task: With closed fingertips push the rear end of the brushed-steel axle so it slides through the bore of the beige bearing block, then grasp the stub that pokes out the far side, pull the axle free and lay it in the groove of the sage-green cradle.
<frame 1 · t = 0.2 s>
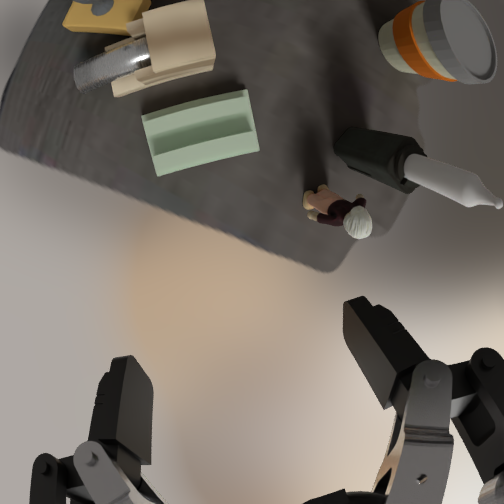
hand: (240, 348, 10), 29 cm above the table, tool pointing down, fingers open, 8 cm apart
grandmother figurine: (319, 195, 39), on the table
beige bearing block: (174, 53, 27), on the table
rubber stamp: (110, 15, 22), on the table
axle: (136, 56, 23), point 4 cm above the table, touching beige bearing block
cradle: (200, 131, 32), on the table
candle: (352, 148, 36), on the table
reusable coffee cup: (400, 46, 30), on the table
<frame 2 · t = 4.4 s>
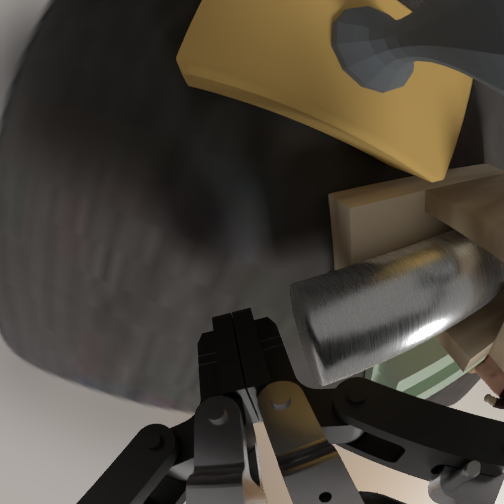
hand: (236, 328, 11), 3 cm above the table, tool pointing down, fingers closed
grandmother figurine: (481, 356, 26), on the table
beige bearing block: (446, 225, 14), on the table
rubber stamp: (321, 64, 9), on the table
axle: (448, 278, 10), point 4 cm above the table, touching beige bearing block, gripper
cradle: (430, 341, 19), on the table
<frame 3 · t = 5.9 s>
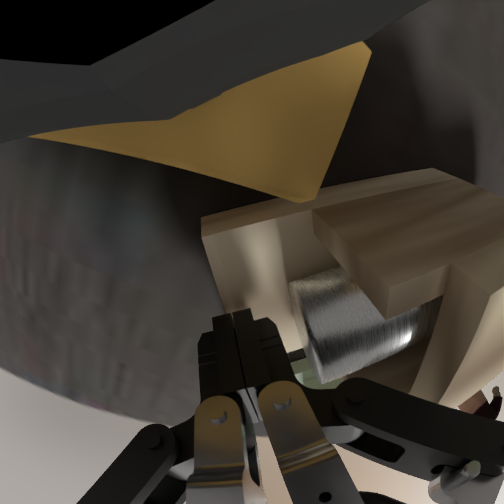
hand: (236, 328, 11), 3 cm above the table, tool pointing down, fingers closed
grandmother figurine: (453, 374, 26), on the table
beige bearing block: (375, 243, 14), on the table
rubber stamp: (187, 78, 9), on the table
axle: (447, 275, 10), point 4 cm above the table, touching beige bearing block, gripper
cradle: (374, 365, 19), on the table
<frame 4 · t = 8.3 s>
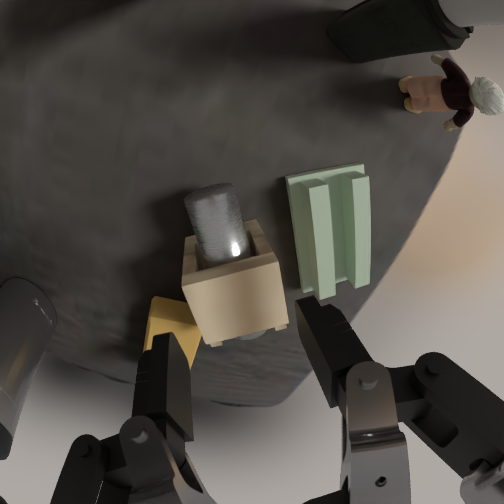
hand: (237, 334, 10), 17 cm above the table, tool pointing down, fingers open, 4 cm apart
grandmother figurine: (408, 90, 23), on the table
beige bearing block: (229, 263, 29), on the table
rubber stamp: (170, 331, 32), on the table
axle: (231, 268, 25), point 4 cm above the table, touching beige bearing block
cradle: (329, 228, 29), on the table
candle: (354, 36, 20), on the table
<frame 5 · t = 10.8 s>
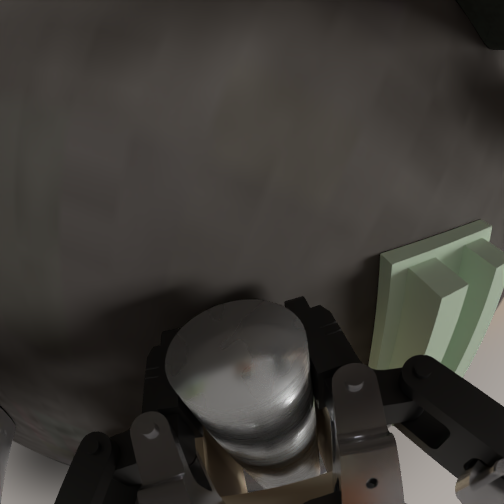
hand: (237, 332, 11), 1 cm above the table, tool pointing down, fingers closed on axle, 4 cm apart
beige bearing block: (260, 393, 15), on the table
axle: (273, 439, 11), point 4 cm above the table, touching beige bearing block, gripper
cradle: (422, 324, 15), on the table
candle: (477, 4, 6), on the table
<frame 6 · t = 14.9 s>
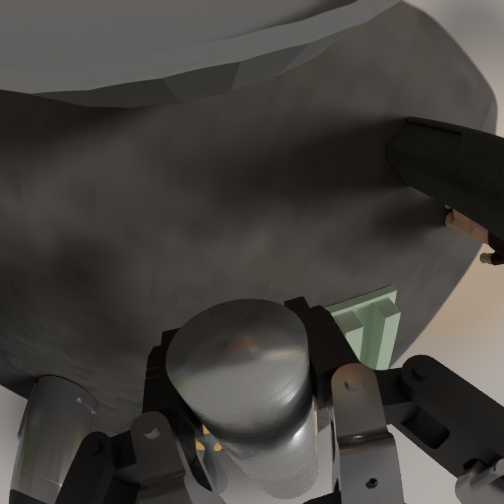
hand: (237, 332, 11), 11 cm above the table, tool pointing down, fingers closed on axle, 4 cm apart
grandmother figurine: (451, 203, 23), on the table
rubber stamp: (206, 413, 33), on the table
axle: (271, 439, 11), point 14 cm above the table, touching gripper
cradle: (356, 339, 30), on the table
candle: (411, 151, 20), on the table
reusable coffee cup: (189, 26, 14), on the table
when the fingers open (4 cm above the table, at t = 19.0 s): axle drops 2 cm, resting on cradle.
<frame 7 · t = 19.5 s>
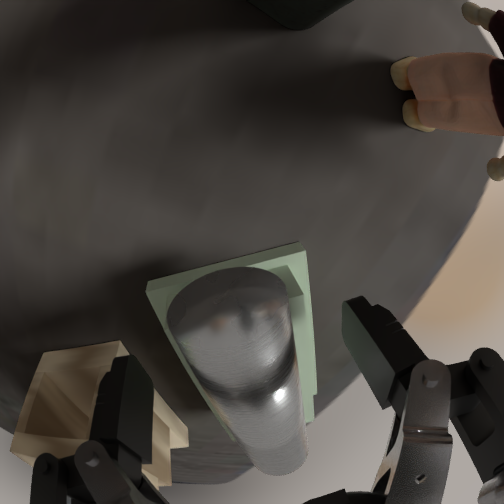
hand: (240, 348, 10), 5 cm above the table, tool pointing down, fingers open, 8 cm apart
grandmother figurine: (410, 85, 11), on the table
beige bearing block: (106, 384, 17), on the table
axle: (262, 407, 12), point 5 cm above the table, touching cradle
cradle: (248, 348, 17), on the table
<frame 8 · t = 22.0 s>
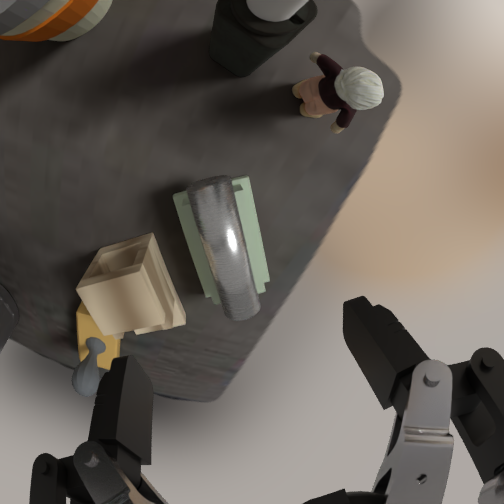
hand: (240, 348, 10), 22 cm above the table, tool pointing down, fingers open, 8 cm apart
grandmother figurine: (306, 94, 26), on the table
beige bearing block: (137, 269, 32), on the table
rubber stamp: (102, 326, 35), on the table
axle: (226, 252, 27), point 5 cm above the table, touching cradle
cradle: (224, 238, 32), on the table
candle: (239, 50, 23), on the table
reusable coffee cup: (77, 7, 16), on the table
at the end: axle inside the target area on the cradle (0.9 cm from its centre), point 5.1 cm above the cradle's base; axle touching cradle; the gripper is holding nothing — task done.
